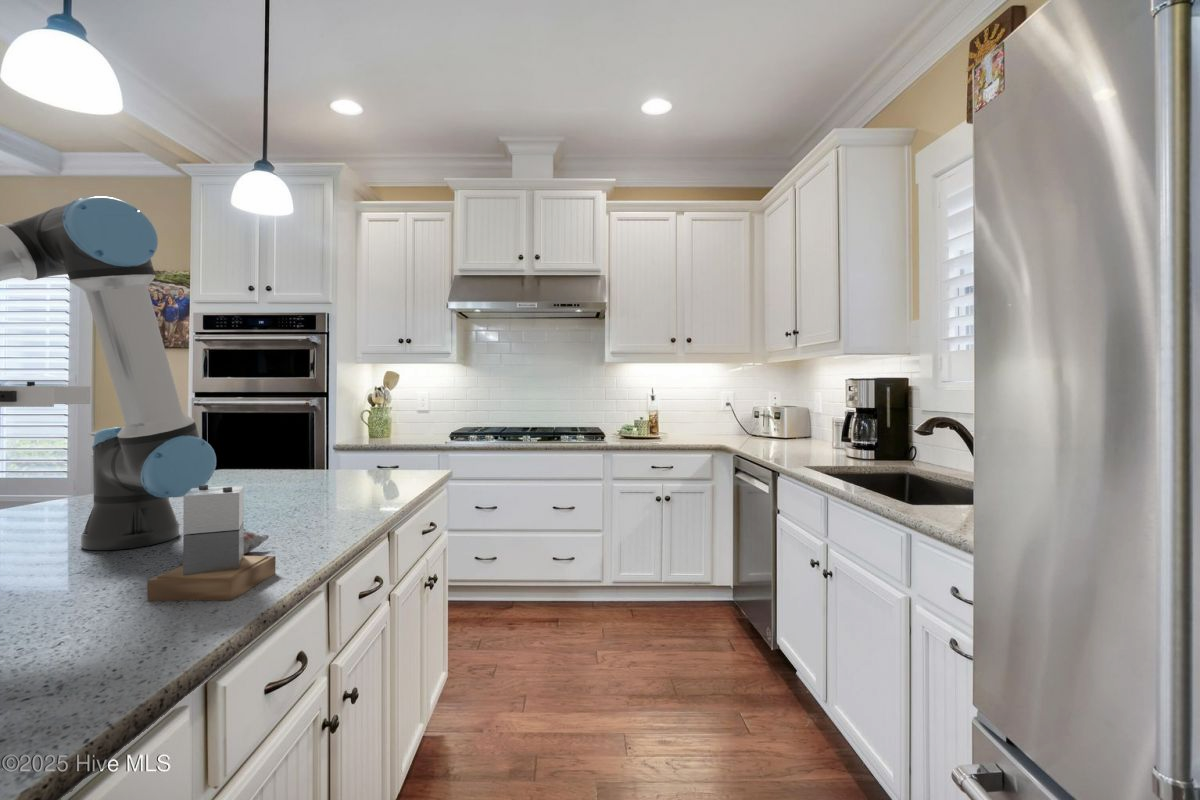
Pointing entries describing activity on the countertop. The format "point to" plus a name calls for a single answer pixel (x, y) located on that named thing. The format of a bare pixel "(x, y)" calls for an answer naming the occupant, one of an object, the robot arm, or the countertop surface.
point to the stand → (211, 581)
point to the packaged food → (252, 540)
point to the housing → (213, 529)
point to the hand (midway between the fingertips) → (73, 395)
